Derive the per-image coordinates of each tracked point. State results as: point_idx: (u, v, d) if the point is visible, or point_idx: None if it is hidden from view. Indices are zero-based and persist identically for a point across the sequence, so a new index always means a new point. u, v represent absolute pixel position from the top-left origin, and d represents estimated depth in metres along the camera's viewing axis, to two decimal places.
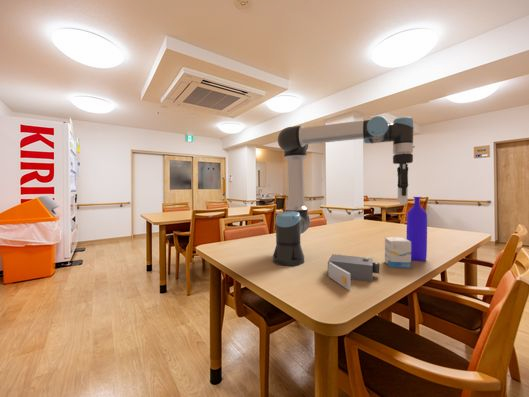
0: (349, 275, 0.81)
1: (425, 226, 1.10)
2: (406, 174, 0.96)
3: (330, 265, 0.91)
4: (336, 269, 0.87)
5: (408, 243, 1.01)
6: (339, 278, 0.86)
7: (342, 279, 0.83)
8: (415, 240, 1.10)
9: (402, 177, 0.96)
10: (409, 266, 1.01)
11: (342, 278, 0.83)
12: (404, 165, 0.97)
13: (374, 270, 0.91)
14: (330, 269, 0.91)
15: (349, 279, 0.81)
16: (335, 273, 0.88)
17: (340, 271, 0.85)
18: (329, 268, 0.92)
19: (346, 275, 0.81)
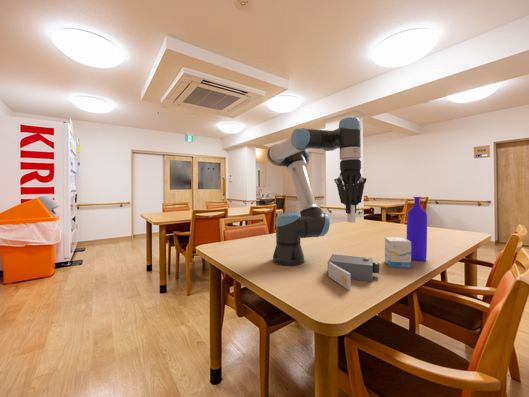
0: (349, 275, 0.81)
1: (425, 226, 1.10)
2: (341, 190, 0.88)
3: (330, 265, 0.91)
4: (336, 269, 0.87)
5: (408, 243, 1.01)
6: (339, 278, 0.86)
7: (342, 279, 0.83)
8: (415, 240, 1.10)
9: (339, 194, 0.89)
10: (409, 266, 1.01)
11: (342, 278, 0.83)
12: (336, 180, 0.88)
13: (374, 270, 0.91)
14: (330, 269, 0.91)
15: (349, 279, 0.81)
16: (335, 273, 0.88)
17: (340, 271, 0.85)
18: (329, 268, 0.92)
19: (346, 275, 0.81)
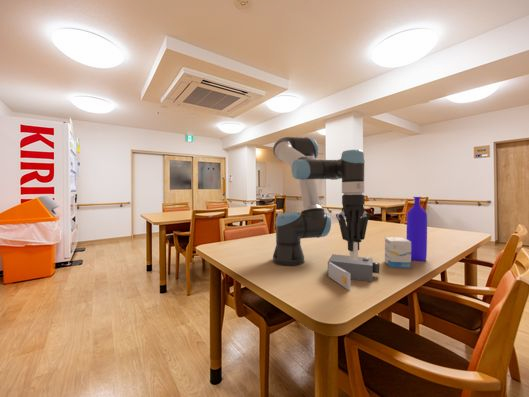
0: (349, 275, 0.81)
1: (425, 226, 1.10)
2: (343, 227, 0.83)
3: (330, 265, 0.91)
4: (336, 269, 0.87)
5: (408, 243, 1.01)
6: (339, 278, 0.86)
7: (342, 279, 0.83)
8: (415, 240, 1.10)
9: (341, 230, 0.84)
10: (409, 266, 1.01)
11: (342, 278, 0.83)
12: (338, 216, 0.83)
13: (374, 270, 0.91)
14: (330, 269, 0.91)
15: (349, 279, 0.81)
16: (335, 273, 0.88)
17: (340, 271, 0.85)
18: (329, 268, 0.92)
19: (346, 275, 0.81)
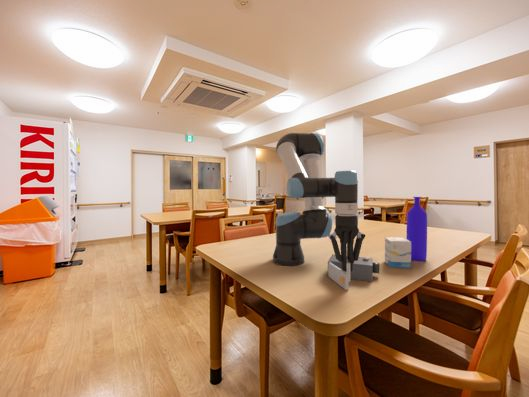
0: (347, 275, 0.80)
1: (425, 226, 1.10)
2: (335, 248, 0.83)
3: (330, 265, 0.91)
4: (335, 269, 0.87)
5: (408, 243, 1.01)
6: (338, 278, 0.85)
7: (340, 279, 0.83)
8: (415, 240, 1.10)
9: (334, 250, 0.85)
10: (409, 266, 1.01)
11: (340, 278, 0.83)
12: (329, 237, 0.83)
13: (374, 270, 0.91)
14: (330, 269, 0.91)
15: (347, 279, 0.80)
16: (335, 273, 0.88)
17: (339, 271, 0.85)
18: (329, 268, 0.92)
19: (344, 275, 0.81)
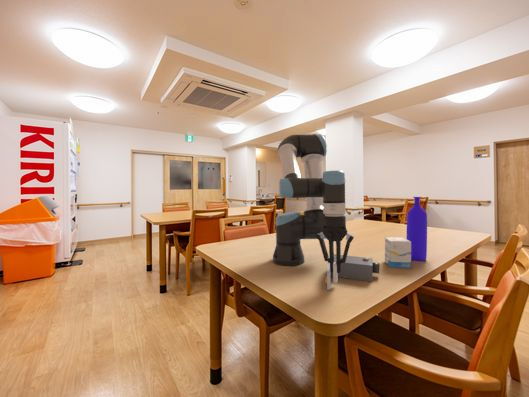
0: (328, 275, 0.81)
1: (425, 226, 1.10)
2: None
3: None
4: (327, 269, 0.87)
5: (408, 243, 1.01)
6: None
7: None
8: (415, 240, 1.10)
9: None
10: (409, 266, 1.01)
11: None
12: None
13: (374, 270, 0.91)
14: None
15: (328, 279, 0.81)
16: None
17: (327, 271, 0.85)
18: None
19: (327, 275, 0.82)
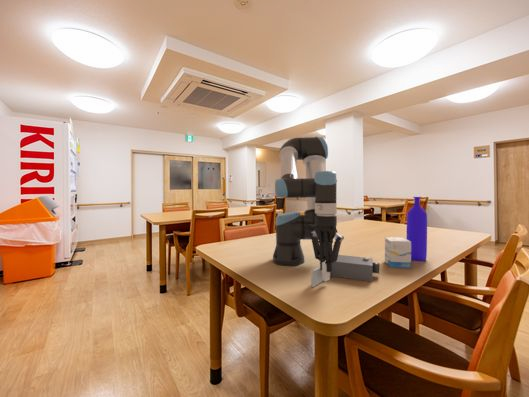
0: (312, 273, 0.83)
1: (425, 226, 1.10)
2: None
3: None
4: None
5: (408, 243, 1.01)
6: None
7: None
8: (415, 240, 1.10)
9: None
10: (409, 266, 1.01)
11: None
12: None
13: (374, 270, 0.91)
14: None
15: (312, 276, 0.83)
16: None
17: None
18: None
19: None
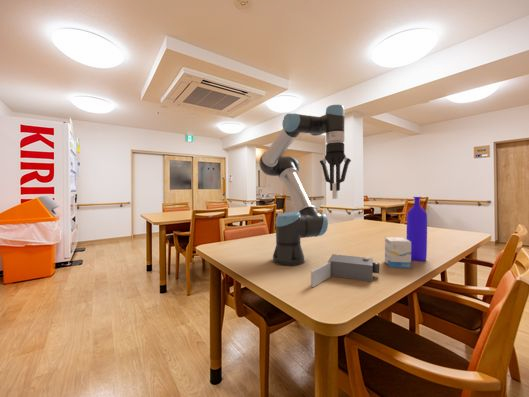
0: (312, 273, 0.83)
1: (425, 226, 1.10)
2: None
3: None
4: None
5: (408, 243, 1.01)
6: None
7: None
8: (415, 240, 1.10)
9: None
10: (409, 266, 1.01)
11: None
12: None
13: (374, 270, 0.91)
14: None
15: (312, 276, 0.83)
16: None
17: None
18: None
19: None
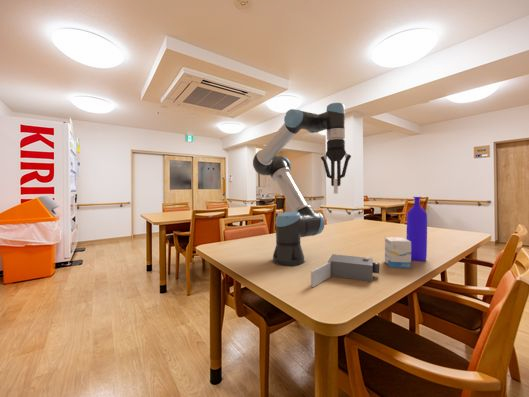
0: (312, 273, 0.83)
1: (425, 226, 1.10)
2: None
3: None
4: None
5: (408, 243, 1.01)
6: None
7: None
8: (415, 240, 1.10)
9: None
10: (409, 266, 1.01)
11: None
12: (321, 158, 1.07)
13: (374, 270, 0.91)
14: None
15: (312, 276, 0.83)
16: None
17: None
18: None
19: None
